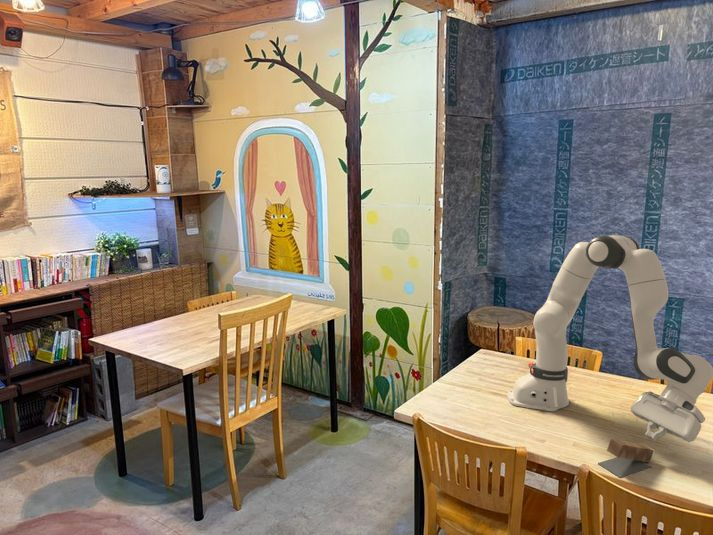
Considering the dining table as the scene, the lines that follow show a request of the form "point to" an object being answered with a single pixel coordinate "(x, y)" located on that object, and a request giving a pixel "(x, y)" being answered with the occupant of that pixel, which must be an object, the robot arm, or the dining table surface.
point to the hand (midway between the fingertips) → (649, 437)
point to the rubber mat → (623, 466)
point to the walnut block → (630, 450)
